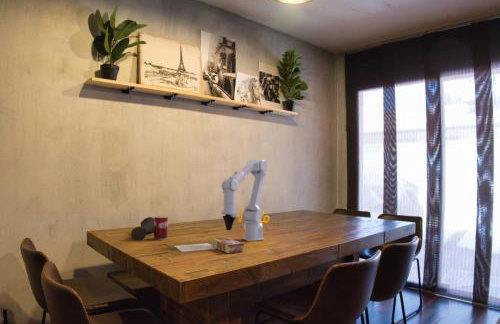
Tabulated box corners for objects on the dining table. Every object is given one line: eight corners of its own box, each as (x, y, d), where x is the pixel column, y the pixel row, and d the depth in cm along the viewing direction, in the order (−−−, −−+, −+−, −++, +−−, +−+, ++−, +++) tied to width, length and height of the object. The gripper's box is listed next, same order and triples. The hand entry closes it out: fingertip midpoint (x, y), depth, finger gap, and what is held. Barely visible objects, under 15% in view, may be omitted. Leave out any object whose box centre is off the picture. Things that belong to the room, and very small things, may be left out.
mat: (207, 243, 172) (207, 243, 172) (216, 248, 161) (216, 248, 161) (174, 246, 165) (174, 245, 165) (181, 252, 153) (181, 251, 153)
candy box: (211, 247, 164) (227, 253, 151) (211, 238, 164) (227, 243, 151) (227, 246, 169) (244, 251, 156) (227, 237, 169) (244, 242, 156)
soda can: (170, 238, 185) (170, 216, 186) (162, 240, 178) (163, 217, 179) (158, 237, 188) (159, 215, 188) (150, 239, 181) (151, 217, 181)
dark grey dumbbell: (147, 234, 206) (134, 250, 178) (139, 220, 205) (124, 233, 177) (163, 226, 206) (153, 241, 178) (155, 211, 205) (143, 224, 177)
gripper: (216, 201, 176) (216, 228, 175) (227, 204, 163) (227, 232, 162) (229, 201, 179) (228, 227, 179) (240, 204, 166) (240, 231, 166)
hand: (228, 230), depth 171 cm, fingers closed
